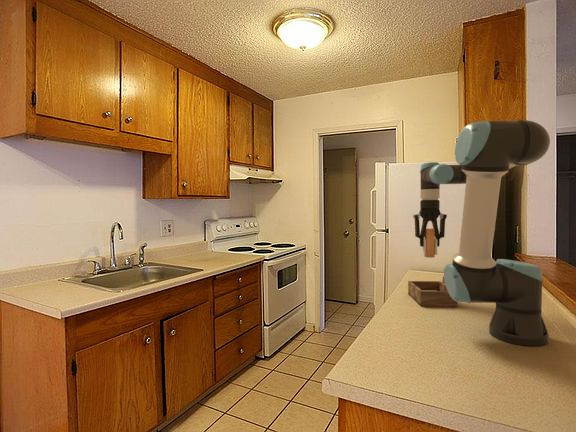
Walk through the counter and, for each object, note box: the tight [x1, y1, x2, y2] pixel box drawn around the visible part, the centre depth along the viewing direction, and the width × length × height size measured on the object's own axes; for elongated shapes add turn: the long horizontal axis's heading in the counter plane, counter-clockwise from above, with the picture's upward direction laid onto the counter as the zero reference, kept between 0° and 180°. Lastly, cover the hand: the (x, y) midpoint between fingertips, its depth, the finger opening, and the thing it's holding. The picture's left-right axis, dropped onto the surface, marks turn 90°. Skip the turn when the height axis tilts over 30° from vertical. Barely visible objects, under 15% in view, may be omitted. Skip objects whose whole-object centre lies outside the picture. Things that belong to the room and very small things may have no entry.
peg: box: [423, 227, 436, 258], centre depth 144 cm, size 4×4×12 cm
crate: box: [407, 280, 458, 308], centre depth 142 cm, size 18×14×6 cm
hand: (429, 254), depth 144 cm, fingers closed on peg, 4 cm apart
